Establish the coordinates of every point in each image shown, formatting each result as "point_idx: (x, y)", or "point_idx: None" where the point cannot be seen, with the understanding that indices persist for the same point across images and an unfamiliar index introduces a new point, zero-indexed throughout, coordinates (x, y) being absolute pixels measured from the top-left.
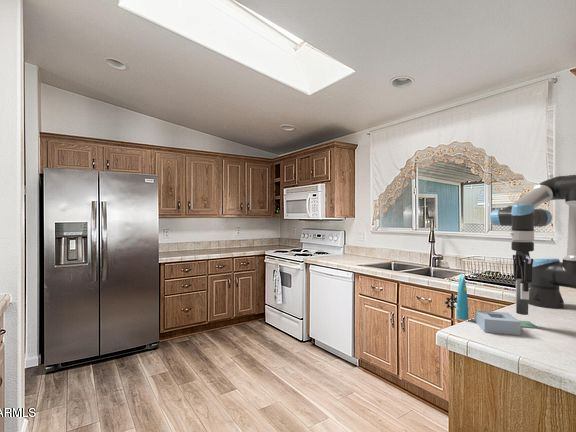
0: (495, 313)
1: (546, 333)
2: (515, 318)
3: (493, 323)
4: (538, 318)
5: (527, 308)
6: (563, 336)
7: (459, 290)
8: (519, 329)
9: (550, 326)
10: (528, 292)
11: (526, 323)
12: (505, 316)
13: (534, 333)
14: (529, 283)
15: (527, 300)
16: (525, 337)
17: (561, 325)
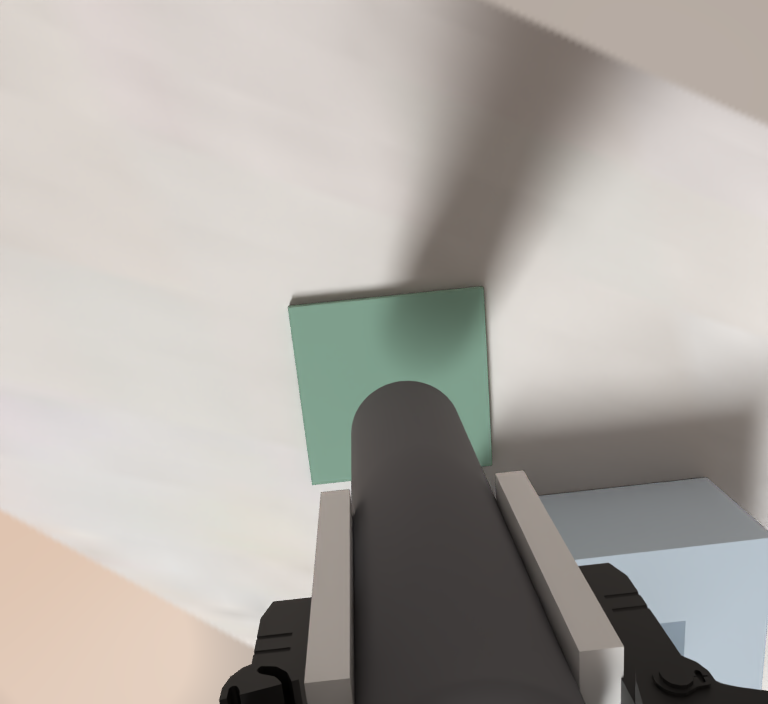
0: None
1: (607, 263)
2: (672, 551)
3: None
4: (87, 166)
5: (456, 422)
6: (656, 144)
7: None
8: (732, 506)
9: (365, 146)
10: (558, 538)
11: (383, 356)
12: None
13: (633, 361)
14: (680, 659)
15: (475, 468)
16: (751, 455)
17: (281, 11)
